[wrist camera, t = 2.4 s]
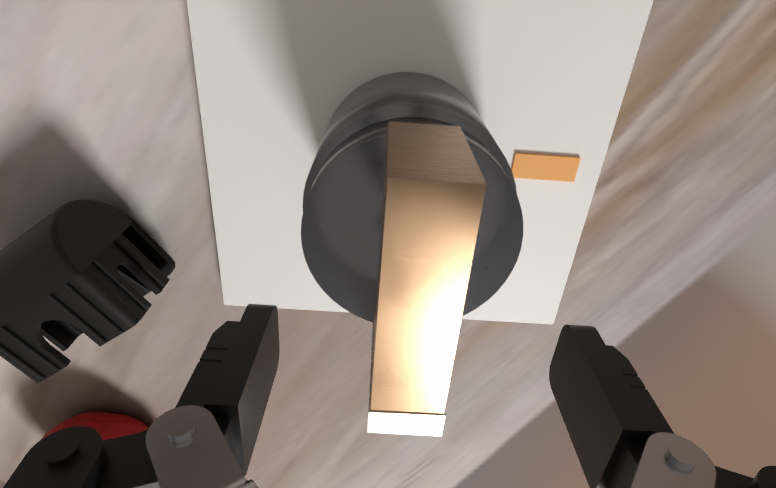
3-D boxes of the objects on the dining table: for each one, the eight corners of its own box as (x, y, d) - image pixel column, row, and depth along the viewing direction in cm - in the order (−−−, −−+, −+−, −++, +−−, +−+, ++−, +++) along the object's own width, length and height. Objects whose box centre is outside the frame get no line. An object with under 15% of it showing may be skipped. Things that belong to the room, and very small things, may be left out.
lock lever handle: (307, 100, 17) (262, 169, 11) (533, 116, 18) (609, 193, 12) (309, 301, 22) (278, 428, 16) (490, 311, 22) (528, 440, 16)
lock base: (186, -100, 22) (78, -139, 14) (656, -61, 23) (790, -77, 15) (231, 291, 33) (183, 387, 25) (546, 310, 33) (592, 409, 26)
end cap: (101, 177, 29) (27, 230, 23) (185, 262, 32) (138, 327, 26) (-2, 253, 31) (-93, 317, 26) (84, 324, 34) (20, 397, 28)
